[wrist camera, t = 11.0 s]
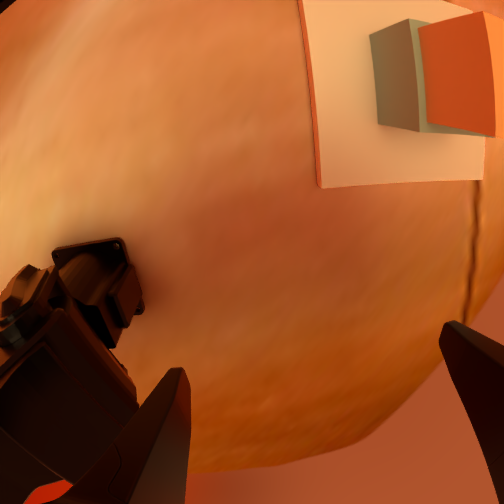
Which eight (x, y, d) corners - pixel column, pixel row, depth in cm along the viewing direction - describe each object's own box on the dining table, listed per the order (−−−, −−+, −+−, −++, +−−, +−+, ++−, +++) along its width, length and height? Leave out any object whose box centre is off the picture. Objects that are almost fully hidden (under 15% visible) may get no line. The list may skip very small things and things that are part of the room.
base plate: (317, 184, 20) (321, 188, 19) (294, -16, 14) (298, -23, 13) (474, 175, 20) (482, 179, 19) (463, 13, 14) (472, 10, 13)
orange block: (426, 122, 12) (495, 137, 8) (417, 27, 10) (482, 11, 6) (490, 128, 12) (554, 146, 8) (484, 45, 10) (548, 44, 6)
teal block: (377, 124, 17) (419, 132, 13) (368, 34, 15) (408, 18, 10) (449, 126, 17) (496, 138, 13) (443, 46, 15) (489, 40, 10)
